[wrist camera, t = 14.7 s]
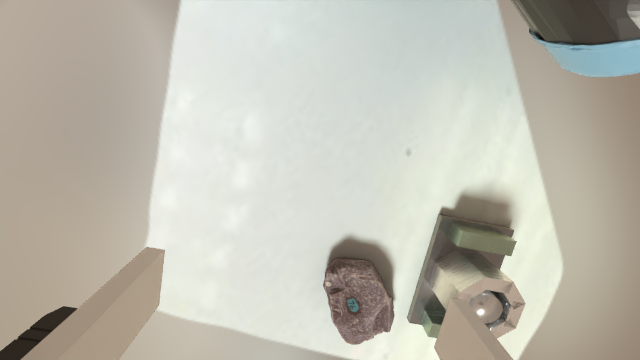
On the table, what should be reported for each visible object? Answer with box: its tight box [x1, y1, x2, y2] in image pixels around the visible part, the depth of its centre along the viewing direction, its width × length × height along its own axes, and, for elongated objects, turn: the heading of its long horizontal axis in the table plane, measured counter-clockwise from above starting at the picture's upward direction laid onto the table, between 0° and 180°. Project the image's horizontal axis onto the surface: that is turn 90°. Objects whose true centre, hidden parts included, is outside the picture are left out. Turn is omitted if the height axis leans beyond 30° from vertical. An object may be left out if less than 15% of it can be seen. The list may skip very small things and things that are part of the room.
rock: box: [323, 258, 394, 345], centre depth 43 cm, size 8×11×5 cm
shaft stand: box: [407, 214, 517, 338], centre depth 41 cm, size 16×10×8 cm, turn 168°
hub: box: [429, 249, 525, 339], centre depth 40 cm, size 8×8×7 cm
